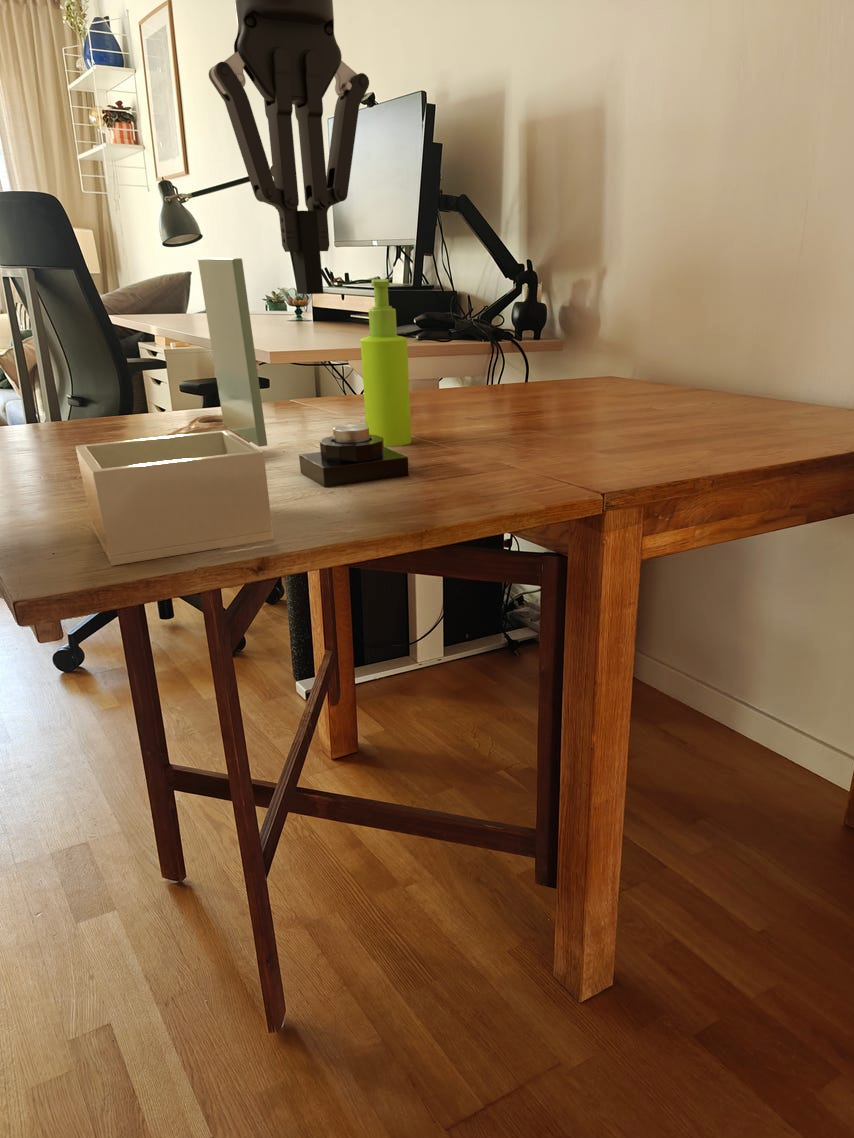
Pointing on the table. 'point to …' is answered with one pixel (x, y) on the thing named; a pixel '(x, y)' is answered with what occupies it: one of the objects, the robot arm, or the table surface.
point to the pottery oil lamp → (204, 426)
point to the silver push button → (351, 434)
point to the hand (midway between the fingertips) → (310, 293)
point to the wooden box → (175, 495)
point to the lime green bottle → (386, 373)
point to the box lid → (233, 346)
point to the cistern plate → (352, 463)
